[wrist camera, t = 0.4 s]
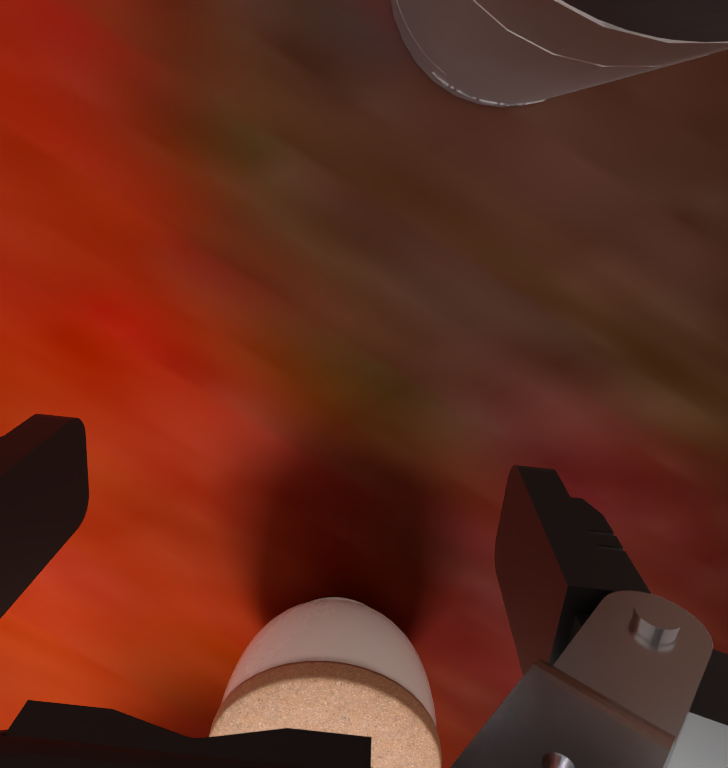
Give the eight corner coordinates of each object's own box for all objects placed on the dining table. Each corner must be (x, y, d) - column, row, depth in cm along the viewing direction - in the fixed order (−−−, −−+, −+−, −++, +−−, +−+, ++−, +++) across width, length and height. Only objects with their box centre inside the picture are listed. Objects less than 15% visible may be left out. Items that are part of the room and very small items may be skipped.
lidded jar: (204, 616, 35) (142, 774, 26) (361, 529, 32) (351, 672, 24) (315, 733, 38) (292, 910, 29) (466, 662, 35) (492, 833, 27)
